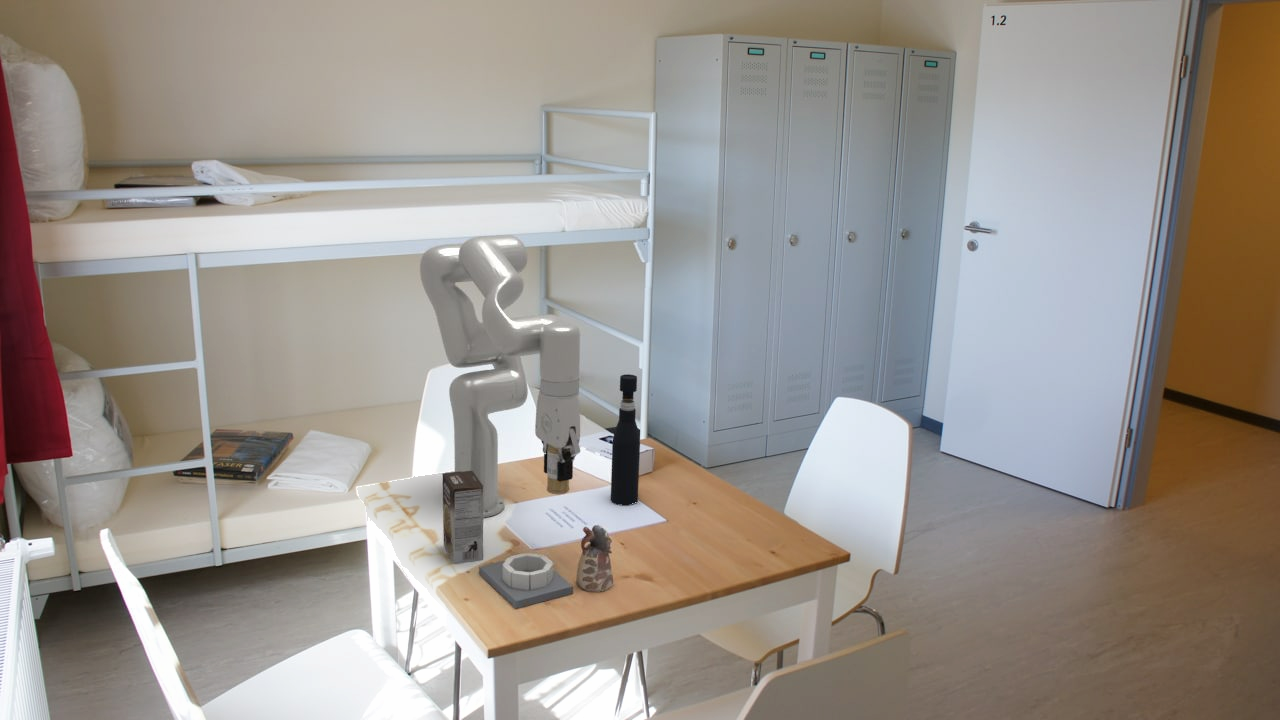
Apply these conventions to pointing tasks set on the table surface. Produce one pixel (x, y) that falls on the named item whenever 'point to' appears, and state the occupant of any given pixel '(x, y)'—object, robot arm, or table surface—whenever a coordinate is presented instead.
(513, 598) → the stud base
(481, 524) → the coffee box
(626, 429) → the wine bottle
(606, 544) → the figurine
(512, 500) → the table surface
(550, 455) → the sprinkles bottle
